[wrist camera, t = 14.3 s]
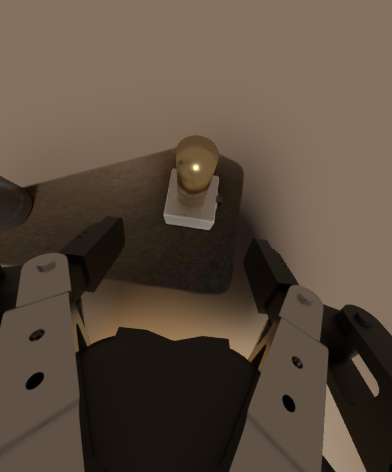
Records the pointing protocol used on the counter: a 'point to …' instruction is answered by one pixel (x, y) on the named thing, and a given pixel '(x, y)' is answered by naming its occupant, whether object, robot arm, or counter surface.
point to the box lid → (200, 212)
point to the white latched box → (187, 220)
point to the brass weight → (195, 169)
